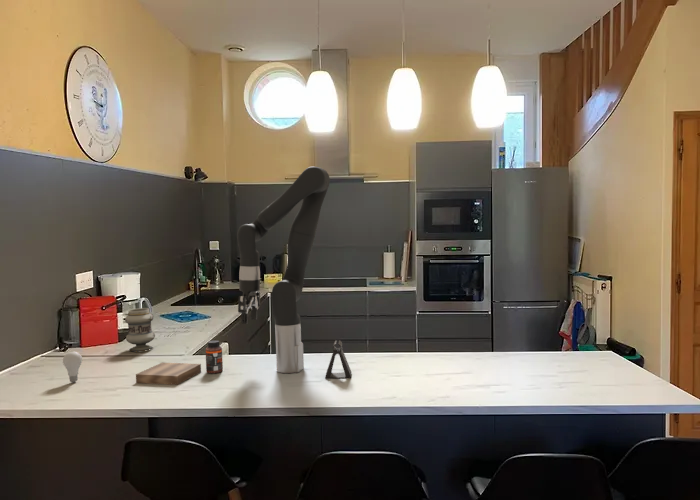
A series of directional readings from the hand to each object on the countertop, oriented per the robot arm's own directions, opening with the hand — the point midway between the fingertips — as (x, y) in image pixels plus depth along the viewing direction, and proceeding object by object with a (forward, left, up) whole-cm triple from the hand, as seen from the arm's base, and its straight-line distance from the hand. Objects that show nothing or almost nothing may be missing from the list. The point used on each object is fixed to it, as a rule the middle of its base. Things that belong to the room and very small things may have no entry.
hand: (249, 321), depth 202 cm
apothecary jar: (+63, -24, -18) cm, 70 cm away
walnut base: (+25, +14, -18) cm, 34 cm away
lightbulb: (+56, +25, -18) cm, 64 cm away
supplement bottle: (+12, +5, -18) cm, 22 cm away
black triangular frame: (-35, +4, -18) cm, 40 cm away
